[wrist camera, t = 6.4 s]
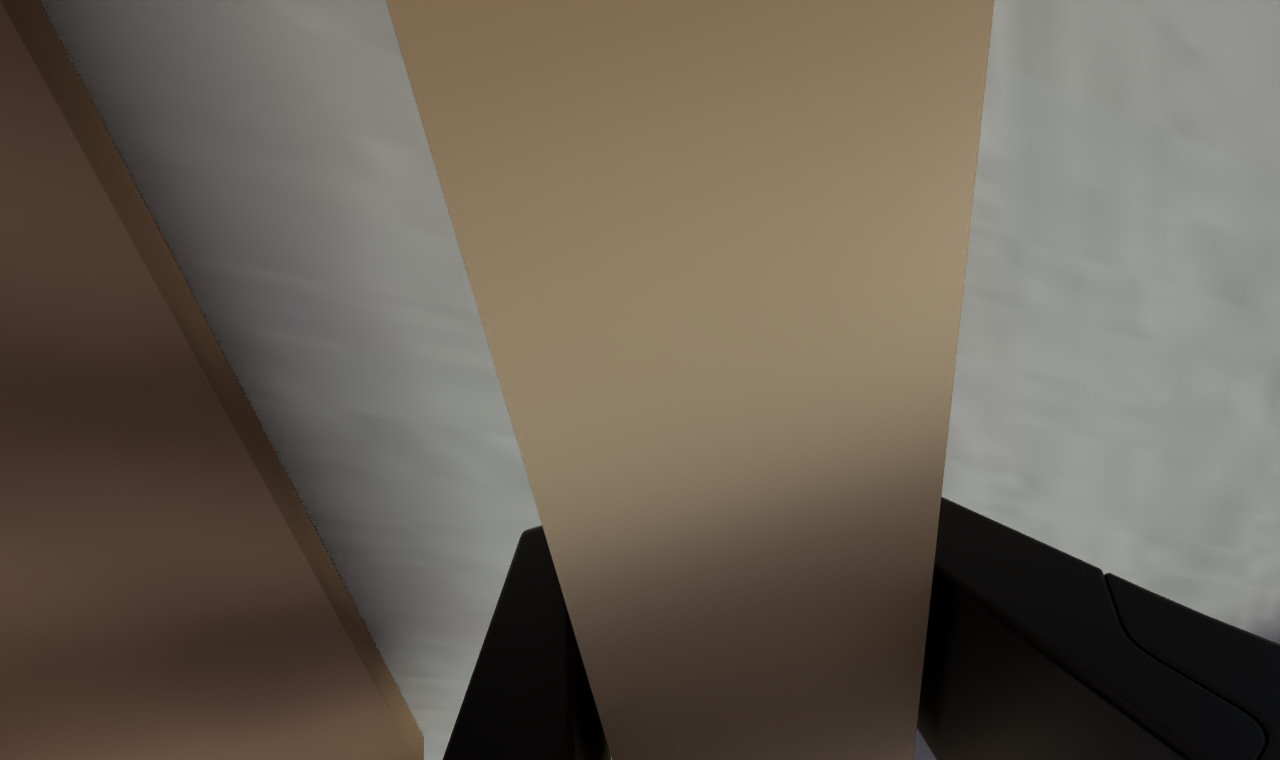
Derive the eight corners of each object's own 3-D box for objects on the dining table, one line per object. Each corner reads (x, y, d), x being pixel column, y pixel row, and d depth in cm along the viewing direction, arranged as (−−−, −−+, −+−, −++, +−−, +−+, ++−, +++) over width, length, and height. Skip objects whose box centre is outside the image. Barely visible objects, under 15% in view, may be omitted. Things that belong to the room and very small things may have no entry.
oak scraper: (778, 747, 14) (888, 988, 11) (635, 799, 14) (703, 1066, 10) (698, -369, 6) (1083, -831, 2) (318, -325, 5) (143, -820, 2)
